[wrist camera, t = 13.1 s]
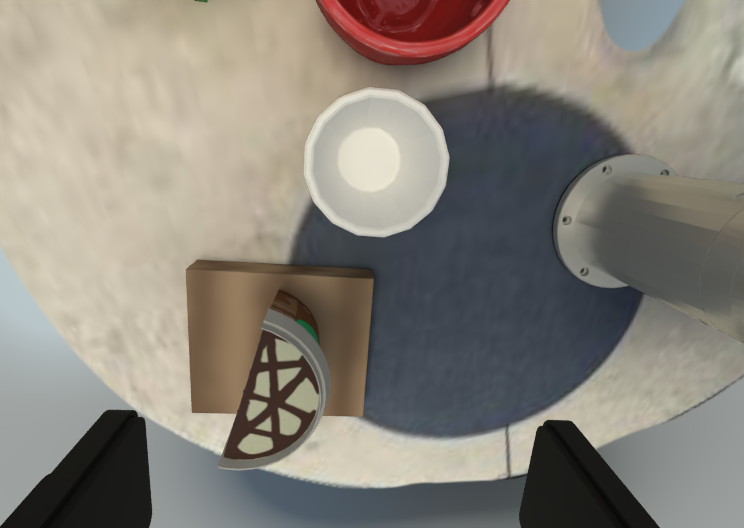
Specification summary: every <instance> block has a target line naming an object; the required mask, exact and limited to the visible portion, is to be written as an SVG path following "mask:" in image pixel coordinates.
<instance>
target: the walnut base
mask: <svg viewBox="0 0 744 528" xmlns="http://www.w3.org/2000/svg"><path fill="white" fill-rule="evenodd" d="M373 283H374V278H373V274H372V269H357V268H338V267H320V266H301V265H282V264H264V263H245V262H227V261H208V260H197V261H195V262H194V263H193V264H192V265H190V266H189V267H188V268H187V269H186V285H187V308H188V332H189V355H190V379H191V402H192V413H226V414H237V410H238V409H239V405H240V402H241V399H242V396H243V390H244V389H245V386H246V383H247V380H248V377H249V372H250V370H251V367H252V364H253V361H254V358H255V354H256V351H257V348H258V344H259V342H260V338H261V334H262V332H263V329H261V327H262V324H263V322H264V319H265V316H266V314H267V311H268V309H270V307H271V305H272V303H273V301H274V298H275V296H276V294H277V292H278V290H281V291H284V292H287V293H289V294H291V295H292V296H294V297H296V298H297V299H299V300H300V301H301V302H302V303H303V304H304V305H305V306H306V307H307V308H308V309H309V310H310V312H311V313H312V315H313V316H314V318H315V321H316V323H317V326H318V330H319V342H320V348H321V350H322V352H323V354H324V356H325V358H326V361H327V364H328V368H329V372H330V382H331V384H330V395H329V399H328V402H327V406H326V408H325V411H324V413H323V415H322V416H355V417H363V406H364V393H365V381H366V369H367V357H368V344H369V332H370V320H371V307H372V295H373Z"/></svg>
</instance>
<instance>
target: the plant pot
mask: <svg viewBox="0 0 744 528" xmlns="http://www.w3.org/2000/svg"><path fill="white" fill-rule="evenodd" d="M509 1H510V0H316V2H317V4H318V6H319V8H320V10H321V12H322V13H323V15H324V17H325V18H326V20H327V21H328V23H329V24H330V26H331V27H332V28H333V30H334V31H335V32H336V33H337V34H338V35H339V36H340V37H341V38H342V39H343V40H344V41H345V42H346V43H347V44H348V45H350V46H351V47H352V48H353V49H354V50H355V51H357V52H358V53H359V54H361V55H362V56H364V57H366V58H368V59H370V60H372V61H375V62H378V63H382V64H386V65H415V64H423V63H427V62H431V61H435V60H438V59H440V58H443V57H446V56H448V55H450V54H452V53H454V52H456V51H458V50H459V49H461V48H463V47H464V46H466V45H467V44H468V43H470V42H471V41H473V40H474V39H475V38H476V37H478V36H479V35H480V34H481V33H482V32H484V31H485V30H486V29H487V28H488V27H489V26H490V25H491V24H492V23H493V22H494V21H495V19H496V18H497V17H498V16H499V15H500V13H501V12H502V11H503V9H504V8H505V7H506V5H507V4H508V2H509Z"/></svg>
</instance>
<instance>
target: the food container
mask: <svg viewBox="0 0 744 528" xmlns="http://www.w3.org/2000/svg"><path fill="white" fill-rule="evenodd" d="M261 329H263V332H262V334H261V338H260V342H259V344H258V348H257V351H256V354H255V358H254V361H253V364H252V367H251V370H250V372H249V377H248V380H247V383H246V386H245V389H244V390H243V396H242V399H241V402H240V405H239V409H238V410H237V415H236V418H235V421H234V424H233V427H232V429H231V432H230V435H229V437H228V440H227V443H226V445H225V448H224V451H223V453H222V456H221V459H220V461H219V464H218V467H217V468H222V469H228V470H249V469H256V468H261V467H265V466H268V465H271V464H274V463H277V462H279V461H281V460H283V459H284V458H286V457H288V456H290V455H291V454H292V453H294V452H295V451H296V450H298V449H299V448H300V447H301V446H302V445H303V444H304V443H305V441H306V440H307V439H308V438H309V437H310V436H311V435H312V433H313V432H314V431H315V429H316V428H317V426H318V424H319V422H320V420H321V417H322V415H323V413H324V411H325V408H326V406H327V402H328V399H329V395H330V384H331V382H330V372H329V368H328V364H327V361H326V358H325V356H324V354H323V352H322V350H321V348H320V342H319V330H318V326H317V323H316V321H315V318H314V316H313V315H312V313H311V312H310V310H309V309H308V308H307V307H306V306H305V305H304V304H303V303H302V302H301V301H300V300H299V299H297V298H296V297H294V296H292V295H291V294H289V293H287V292H284V291H281V290H278V292H277V294H276V296H275V298H274V301H273V303H272V305H271V307H270V309H268V311H267V314H266V316H265V319H264V322H263V324H262V327H261Z"/></svg>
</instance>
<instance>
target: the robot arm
mask: <svg viewBox="0 0 744 528" xmlns="http://www.w3.org/2000/svg"><path fill="white" fill-rule="evenodd" d="M602 169H603V171H602ZM563 218H565V219H564V221H562V220H563ZM553 238H554V245H555V248H556V251H557V254H558V257H559V258H560V260H561V262H562V263H563V265H564V266H565V267H566V268H567V269H568V270H569V271H570V272H571V273H572V274H573V275H574V276H576V277H578V278H579V279H581V280H583V281H585V282H587V283H589V284H591V285H594V286H598V287H602V288H619V287H626V286H631V287H633V288H635V289H637V290H639V291H641V292H643V293H645V294H647V295H649V296H651V297H653V298H655V299H657V300H659V301H661V302H663V303H665V304H667V305H669V306H671V307H673V308H675V309H677V310H679V311H681V312H683V313H685V314H687V315H689V316H690V317H692V318H694V319H696V320H698V321H700V322H702V323H704V324H706V325H708V326H710V327H713V328H715V329H717V330H719V331H721V332H723V333H725V334H727V335H729V336H731V337H733V338H735V339H737V340H739V341H741V342H743V343H744V184H742V183H733V182H723V181H714V180H704V179H695V178H685V177H679V176H678V175H677V174H676V173H675V172H674V170H673V169H672V168H671V167H669V166H668V165H667V164H665V163H664V162H662V161H660V160H658V159H656V158H653V157H650V156H645V155H639V154H624V155H616V156H612V157H609V158H606V159H603V160H601V161H599V162H597V163H595V164H593V165H591V166H589V167H588V168H587V169H586V170H584V171H583V172H582V173H580V174H579V175H578V176H577V177H576V178H575V180H574V181H573V182H572V183H571V184H570V185H569V186H568V188H567V190H566V191H565V193H564V194H563V196H562V198H561V200H560V202H559V205H558V207H557V209H556V213H555V218H554V223H553ZM581 269H582V270H581ZM151 518H152V503H151V490H150V477H149V464H148V451H147V438H146V425H145V419H144V418H143V417H138V414H137V412H136V411H134V410H107V411H105V412H104V413H103V414H102V415H101V416H100V418H99V419H98V420H97V421H96V422H95V423H94V425H93V426H92V427H91V428H90V429H89V431H87V433H86V434H85V435H84V436H83V437H82V438H81V439H80V441H79V442H78V443H77V444H76V445H75V446H74V448H73V449H72V450H71V451H70V452H69V453H68V454H67V455H66V457H65V458H64V459H63V460H62V461H61V462H60V463H59V465H58V466H57V467H56V468H55V469H54V470H53V472H52V473H51V474H48V475H47V476H45V477H44V478H43V479H42V480H41V481H40V482H39V483H38V484H37V485H36V487H35V488H34V489H33V490H32V491H31V492H30V493H29V495H28V496H27V497H26V498H25V499H24V500H23V501H22V502H21V504H20V505H19V506H18V507H17V508H16V509H15V510H14V512H13V513H12V514H11V515H10V516H9V517H8V518H7V519H6V521H5V522H4V523H3V524H2V525H1V526H0V528H149V526H150V522H151ZM519 520H520V525H521V528H660V527H659V526H658V525H657V524H656V522H655V521H654V520H653V519H652V518H651V516H650V515H649V514H648V513H647V512H646V510H645V509H644V508H643V507H642V506H641V504H640V503H639V502H638V501H637V499H636V498H635V497H634V496H633V495H632V493H631V492H630V491H629V490H628V489H627V487H626V486H625V485H624V484H623V482H622V481H621V480H620V479H619V478H618V476H617V475H616V474H615V473H614V471H613V470H612V469H611V468H610V467H609V466H608V464H607V463H606V462H605V461H604V459H603V458H602V457H601V456H600V455H599V453H598V452H597V451H596V450H595V448H594V447H593V446H592V445H591V444H590V442H589V441H588V440H587V439H586V438H585V436H584V435H583V434H582V433H581V431H580V430H579V429H578V428H577V427H576V425H575V424H574V423H573V422H572V421H568V420H547V421H545V422H544V424H543V426H539V427H538V428H537V431H536V436H535V441H534V446H533V450H532V455H531V460H530V465H529V469H528V474H527V479H526V484H525V488H524V493H523V498H522V503H521V507H520V513H519Z"/></svg>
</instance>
